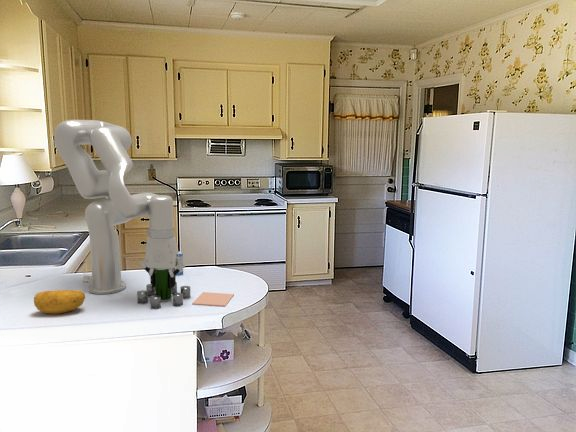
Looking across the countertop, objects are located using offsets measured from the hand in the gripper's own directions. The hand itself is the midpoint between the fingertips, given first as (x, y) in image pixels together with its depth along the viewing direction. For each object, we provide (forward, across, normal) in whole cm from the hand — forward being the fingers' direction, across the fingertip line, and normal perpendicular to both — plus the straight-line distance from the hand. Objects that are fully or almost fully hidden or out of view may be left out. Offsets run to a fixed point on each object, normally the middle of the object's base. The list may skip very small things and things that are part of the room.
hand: (163, 286), depth 160 cm
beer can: (+5, 0, 0) cm, 5 cm away
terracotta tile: (+4, +16, +3) cm, 17 cm away
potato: (+5, -27, -16) cm, 32 cm away
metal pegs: (+5, 0, 0) cm, 5 cm away
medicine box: (+5, -8, +27) cm, 28 cm away
